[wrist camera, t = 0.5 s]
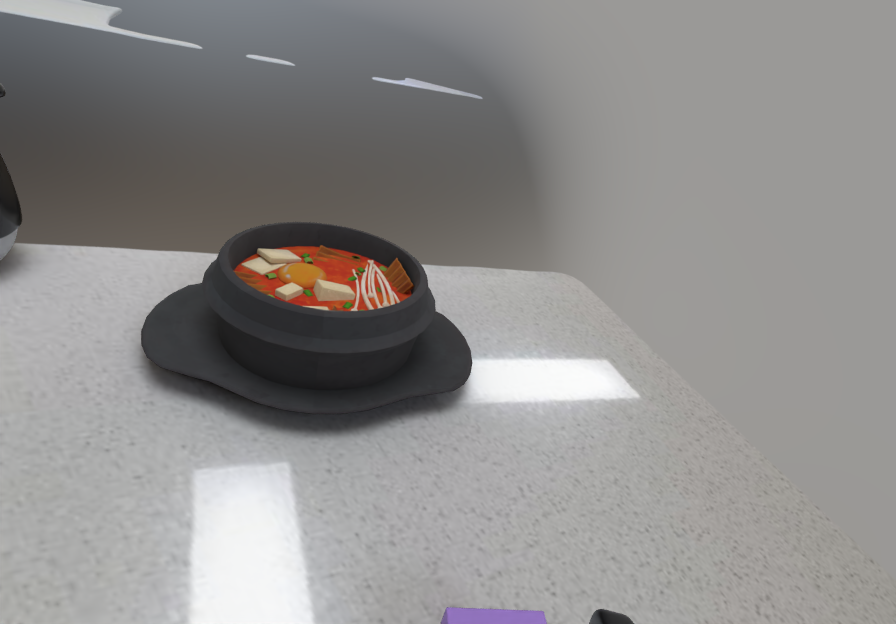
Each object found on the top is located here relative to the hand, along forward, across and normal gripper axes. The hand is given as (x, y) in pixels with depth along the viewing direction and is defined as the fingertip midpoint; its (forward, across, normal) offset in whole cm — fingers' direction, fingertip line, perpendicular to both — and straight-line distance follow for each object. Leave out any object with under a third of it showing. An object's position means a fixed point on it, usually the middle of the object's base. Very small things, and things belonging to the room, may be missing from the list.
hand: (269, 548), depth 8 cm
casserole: (+35, +8, +14) cm, 38 cm away
